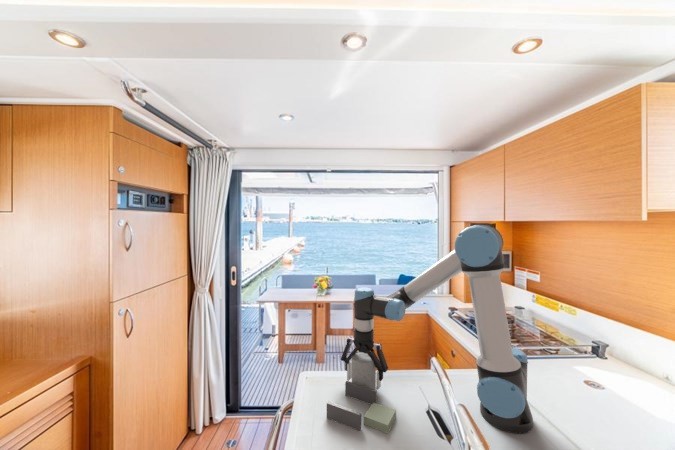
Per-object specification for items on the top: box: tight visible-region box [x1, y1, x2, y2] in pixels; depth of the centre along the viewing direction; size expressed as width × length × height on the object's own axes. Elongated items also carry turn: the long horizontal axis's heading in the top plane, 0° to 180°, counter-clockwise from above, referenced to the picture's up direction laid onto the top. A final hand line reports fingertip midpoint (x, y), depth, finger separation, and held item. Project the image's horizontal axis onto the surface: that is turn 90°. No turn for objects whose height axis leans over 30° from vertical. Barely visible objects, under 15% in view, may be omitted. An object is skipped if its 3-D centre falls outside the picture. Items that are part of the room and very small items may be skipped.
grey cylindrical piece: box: [351, 351, 377, 390], centre depth 111 cm, size 10×10×12 cm
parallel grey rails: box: [326, 380, 378, 432], centre depth 98 cm, size 12×15×5 cm
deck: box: [363, 402, 397, 434], centre depth 93 cm, size 8×8×2 cm
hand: (363, 383), depth 111 cm, fingers open, 12 cm apart
